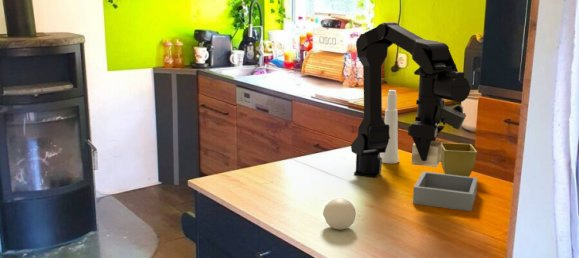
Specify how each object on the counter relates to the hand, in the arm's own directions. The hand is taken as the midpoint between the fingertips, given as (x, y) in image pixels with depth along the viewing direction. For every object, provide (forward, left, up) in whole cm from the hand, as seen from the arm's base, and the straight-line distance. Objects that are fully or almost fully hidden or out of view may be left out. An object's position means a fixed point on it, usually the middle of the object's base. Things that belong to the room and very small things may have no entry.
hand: (426, 157), depth 150 cm
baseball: (-15, -25, -11) cm, 31 cm away
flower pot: (+5, +23, -11) cm, 26 cm away
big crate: (+5, +4, -11) cm, 13 cm away
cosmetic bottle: (-16, +32, -11) cm, 37 cm away
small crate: (0, 0, -1) cm, 1 cm away
